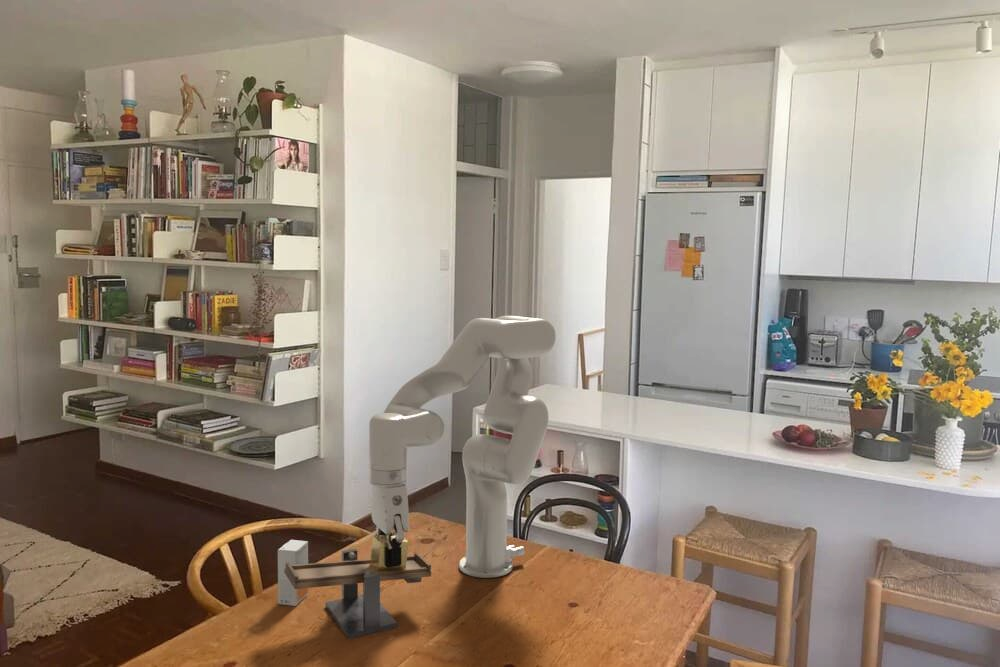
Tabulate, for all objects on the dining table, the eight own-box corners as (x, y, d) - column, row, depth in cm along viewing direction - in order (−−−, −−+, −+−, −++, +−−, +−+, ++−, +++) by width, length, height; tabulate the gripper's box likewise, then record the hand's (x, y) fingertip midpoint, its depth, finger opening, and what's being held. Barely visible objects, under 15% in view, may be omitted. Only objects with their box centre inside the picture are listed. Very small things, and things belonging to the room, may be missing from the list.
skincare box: (296, 606, 162) (295, 551, 161) (277, 604, 163) (276, 549, 162) (309, 594, 168) (308, 540, 167) (291, 592, 169) (290, 538, 168)
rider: (397, 562, 163) (400, 534, 163) (405, 570, 159) (408, 541, 159) (370, 564, 160) (373, 535, 160) (377, 572, 156) (380, 543, 156)
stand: (371, 597, 167) (371, 545, 166) (397, 627, 154) (397, 571, 153) (325, 606, 162) (325, 553, 161) (348, 639, 149) (347, 581, 148)
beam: (411, 566, 169) (413, 547, 169) (433, 586, 159) (435, 566, 159) (281, 577, 155) (283, 556, 155) (296, 600, 145) (298, 578, 145)
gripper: (421, 483, 152) (421, 573, 154) (390, 462, 167) (391, 544, 169) (385, 489, 149) (385, 580, 151) (357, 466, 163) (357, 550, 165)
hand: (388, 560), depth 160 cm, fingers closed on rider, 4 cm apart
